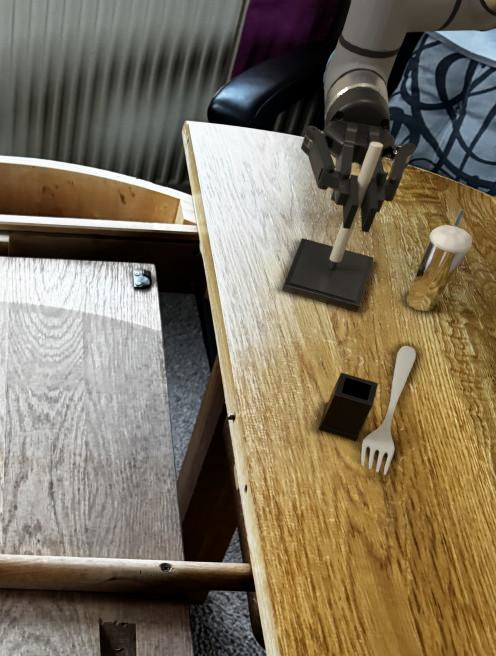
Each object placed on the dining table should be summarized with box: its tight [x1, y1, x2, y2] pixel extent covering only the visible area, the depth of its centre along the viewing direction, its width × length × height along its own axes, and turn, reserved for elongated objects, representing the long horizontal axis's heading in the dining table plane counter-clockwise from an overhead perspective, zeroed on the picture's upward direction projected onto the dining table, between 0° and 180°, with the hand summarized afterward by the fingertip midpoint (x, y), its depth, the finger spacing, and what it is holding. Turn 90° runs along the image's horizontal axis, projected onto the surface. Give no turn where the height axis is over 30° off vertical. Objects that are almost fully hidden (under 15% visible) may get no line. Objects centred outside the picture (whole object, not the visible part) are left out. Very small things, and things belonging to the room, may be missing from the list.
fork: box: [360, 345, 417, 476], centre depth 97 cm, size 3×24×2 cm, turn 156°
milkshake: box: [406, 208, 473, 312], centre depth 106 cm, size 5×5×10 cm
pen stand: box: [318, 372, 379, 442], centre depth 94 cm, size 4×4×4 cm
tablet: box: [281, 237, 375, 312], centre depth 111 cm, size 9×11×1 cm
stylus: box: [330, 142, 383, 269], centre depth 106 cm, size 1×1×14 cm
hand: (360, 218), depth 101 cm, fingers closed on stylus
